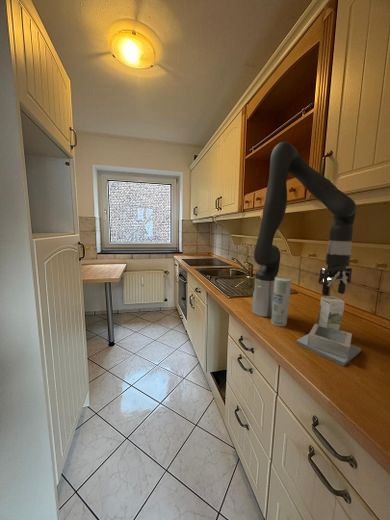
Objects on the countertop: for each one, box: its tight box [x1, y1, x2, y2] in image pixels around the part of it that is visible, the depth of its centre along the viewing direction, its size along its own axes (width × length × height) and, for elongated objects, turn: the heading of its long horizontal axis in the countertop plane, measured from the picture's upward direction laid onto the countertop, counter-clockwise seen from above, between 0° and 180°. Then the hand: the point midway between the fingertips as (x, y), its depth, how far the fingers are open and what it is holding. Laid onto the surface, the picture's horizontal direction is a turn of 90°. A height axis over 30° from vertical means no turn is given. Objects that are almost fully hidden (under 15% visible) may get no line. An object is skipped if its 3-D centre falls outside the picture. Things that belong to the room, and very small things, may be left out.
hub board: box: [295, 333, 362, 367], centre depth 73 cm, size 15×14×1 cm
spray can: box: [270, 276, 292, 327], centre depth 90 cm, size 6×6×20 cm
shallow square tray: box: [307, 323, 353, 359], centre depth 72 cm, size 11×11×4 cm
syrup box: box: [316, 296, 346, 330], centre depth 82 cm, size 6×6×14 cm
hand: (333, 294), depth 81 cm, fingers open, 8 cm apart
